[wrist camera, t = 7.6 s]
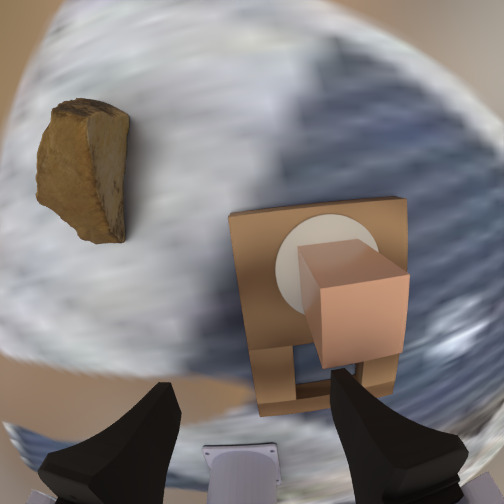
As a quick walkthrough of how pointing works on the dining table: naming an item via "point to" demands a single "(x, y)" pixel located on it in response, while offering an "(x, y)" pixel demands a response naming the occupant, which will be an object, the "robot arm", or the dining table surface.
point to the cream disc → (307, 234)
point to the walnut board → (290, 320)
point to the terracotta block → (352, 301)
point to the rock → (85, 168)
